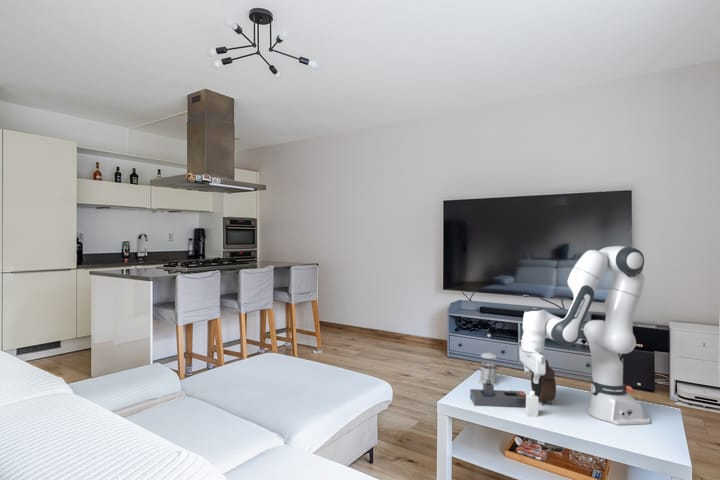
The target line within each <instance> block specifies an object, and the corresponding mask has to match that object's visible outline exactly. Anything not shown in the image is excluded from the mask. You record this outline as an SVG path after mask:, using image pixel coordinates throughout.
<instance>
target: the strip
mask: <svg viewBox="0 0 720 480" xmlns="http://www.w3.org/2000/svg"><path fill="white" fill-rule="evenodd" d="M469 392H470V393H469V396H470V397H469V398H470V400H471V402H472V404H473V405H474V407H475V406H476V407H496V408H499V407H500V408H520V409H521V408H525V409H526V395H527V394H526V393H525V391H524V390H522V391H521V390H501V389H500V390H499V389H498V390H497V389H496V390H495V389H494V395H483V389H476V388H475V389H474V388H471V389H470V391H469Z"/></svg>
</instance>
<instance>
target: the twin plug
mask: <svg viewBox="0 0 720 480" xmlns="http://www.w3.org/2000/svg"><path fill="white" fill-rule="evenodd" d="M482 390H483V395H494V390H495V386H493V384H491V380H489V379H487V380H486V383H483V385H482Z"/></svg>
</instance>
